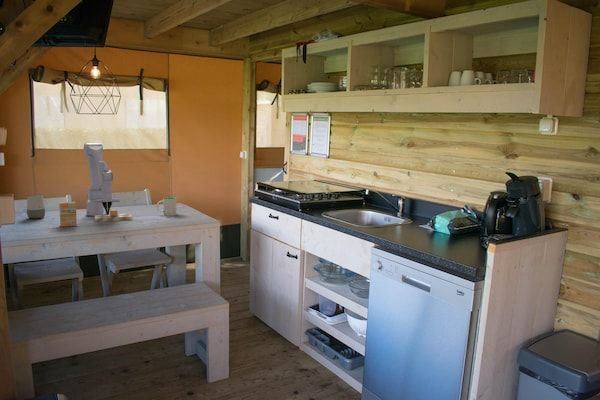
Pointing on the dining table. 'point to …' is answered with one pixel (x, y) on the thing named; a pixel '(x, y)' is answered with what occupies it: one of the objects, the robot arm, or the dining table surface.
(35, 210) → the smart speaker
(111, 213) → the fader tab
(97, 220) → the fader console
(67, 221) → the supplement box
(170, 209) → the mug
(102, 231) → the dining table surface
